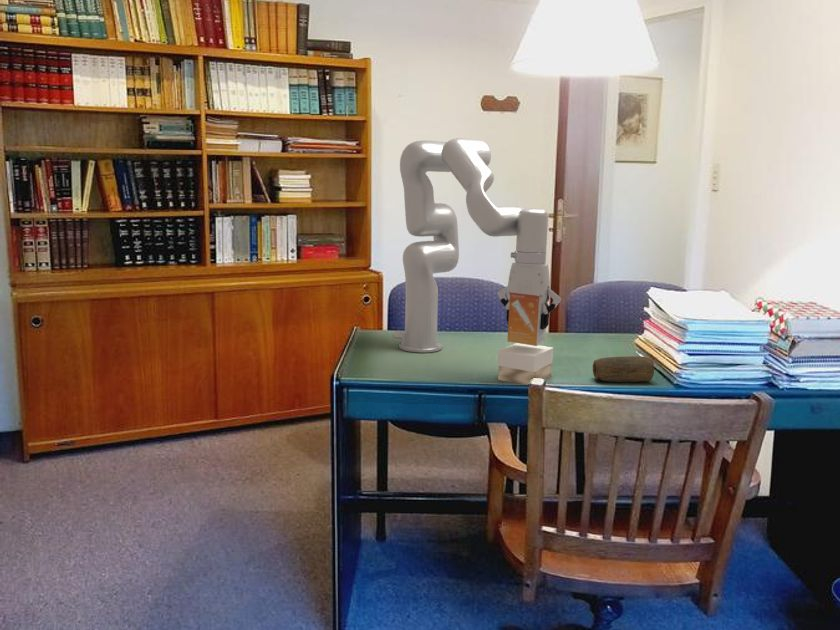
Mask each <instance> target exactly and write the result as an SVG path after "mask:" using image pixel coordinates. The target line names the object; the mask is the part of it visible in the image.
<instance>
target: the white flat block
mask: <svg viewBox="0 0 840 630" xmlns="http://www.w3.org/2000/svg"><path fill="white" fill-rule="evenodd" d="M554 349H555V348H554V347H552V346H546V345H541V344H539V345H538V346H533V345H527V344H521V343H515V342H514V343H513V344H511V345H508V346H506V347H503V348H501V349H498V351H497V366H498V367H499V366H502V367H508V368H513V369H519V370H525V371H530V372H535V371H537V370H539V369H541V368H543V367H545V366H547V365H549V364H551V363H552V364H553V362H554Z"/></svg>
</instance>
